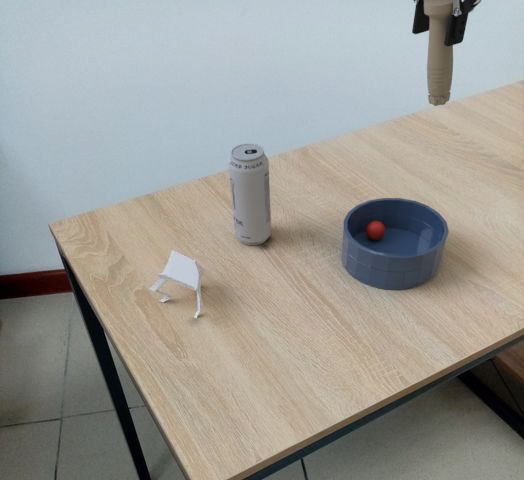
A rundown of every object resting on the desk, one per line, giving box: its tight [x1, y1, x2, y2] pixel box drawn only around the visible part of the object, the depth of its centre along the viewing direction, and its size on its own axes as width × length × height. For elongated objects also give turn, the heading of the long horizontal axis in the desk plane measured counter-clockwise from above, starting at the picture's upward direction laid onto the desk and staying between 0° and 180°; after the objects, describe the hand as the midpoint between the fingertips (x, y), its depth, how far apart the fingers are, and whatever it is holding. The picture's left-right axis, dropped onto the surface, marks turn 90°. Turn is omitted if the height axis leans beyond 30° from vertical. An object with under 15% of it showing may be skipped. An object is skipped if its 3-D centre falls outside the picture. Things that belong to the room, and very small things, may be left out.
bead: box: [366, 221, 385, 240], centre depth 84 cm, size 3×3×3 cm
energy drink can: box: [227, 143, 272, 246], centre depth 83 cm, size 6×6×15 cm
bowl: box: [340, 197, 450, 291], centre depth 81 cm, size 15×15×6 cm
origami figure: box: [148, 248, 205, 319], centre depth 77 cm, size 12×8×5 cm
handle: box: [424, 0, 454, 107], centre depth 82 cm, size 5×6×15 cm
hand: (436, 36), depth 80 cm, fingers closed on handle, 6 cm apart
